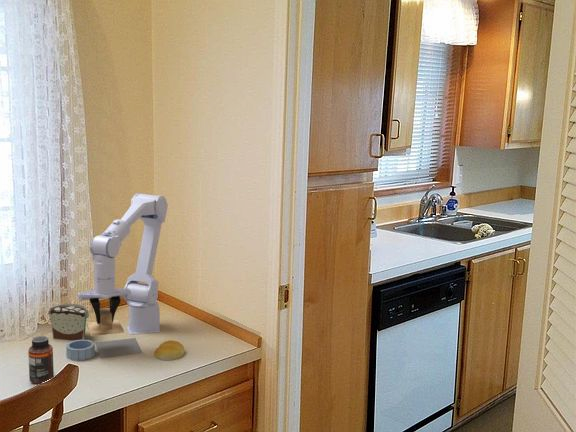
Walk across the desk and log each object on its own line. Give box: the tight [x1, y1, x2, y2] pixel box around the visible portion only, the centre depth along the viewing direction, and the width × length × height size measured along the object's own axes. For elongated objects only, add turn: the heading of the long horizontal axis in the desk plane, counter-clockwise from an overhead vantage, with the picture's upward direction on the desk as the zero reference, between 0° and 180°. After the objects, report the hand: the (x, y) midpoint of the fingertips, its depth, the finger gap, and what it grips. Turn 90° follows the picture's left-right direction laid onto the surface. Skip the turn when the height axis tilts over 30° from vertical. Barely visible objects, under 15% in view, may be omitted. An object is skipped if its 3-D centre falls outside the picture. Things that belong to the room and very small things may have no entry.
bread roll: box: [153, 339, 186, 361], centre depth 178 cm, size 8×9×4 cm
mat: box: [94, 337, 144, 359], centre depth 181 cm, size 12×12×1 cm
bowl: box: [65, 338, 96, 362], centre depth 174 cm, size 8×8×4 cm
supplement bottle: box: [27, 335, 55, 385], centre depth 158 cm, size 6×6×11 cm
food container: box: [47, 303, 90, 341], centre depth 187 cm, size 12×6×10 cm, turn 84°
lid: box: [86, 307, 124, 337], centre depth 177 cm, size 9×9×5 cm
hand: (104, 322), depth 177 cm, fingers closed on lid, 3 cm apart
